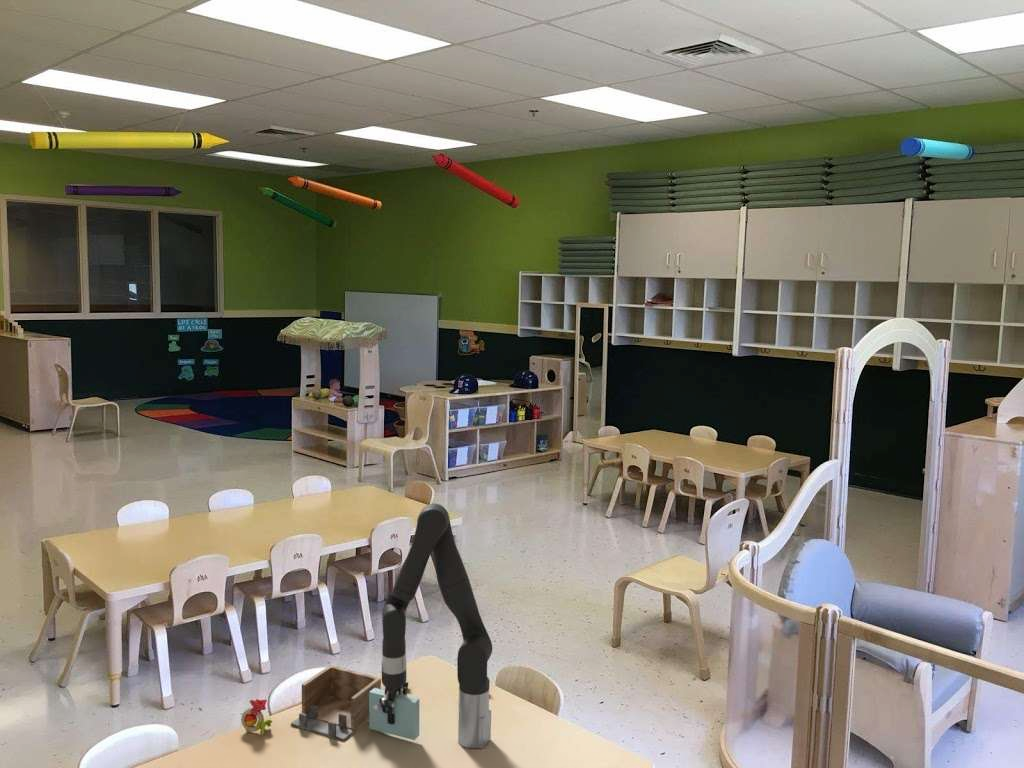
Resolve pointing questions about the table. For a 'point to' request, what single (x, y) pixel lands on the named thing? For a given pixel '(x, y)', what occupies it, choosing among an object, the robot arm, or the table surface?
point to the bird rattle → (255, 717)
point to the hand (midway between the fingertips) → (394, 720)
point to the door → (404, 715)
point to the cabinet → (336, 702)
